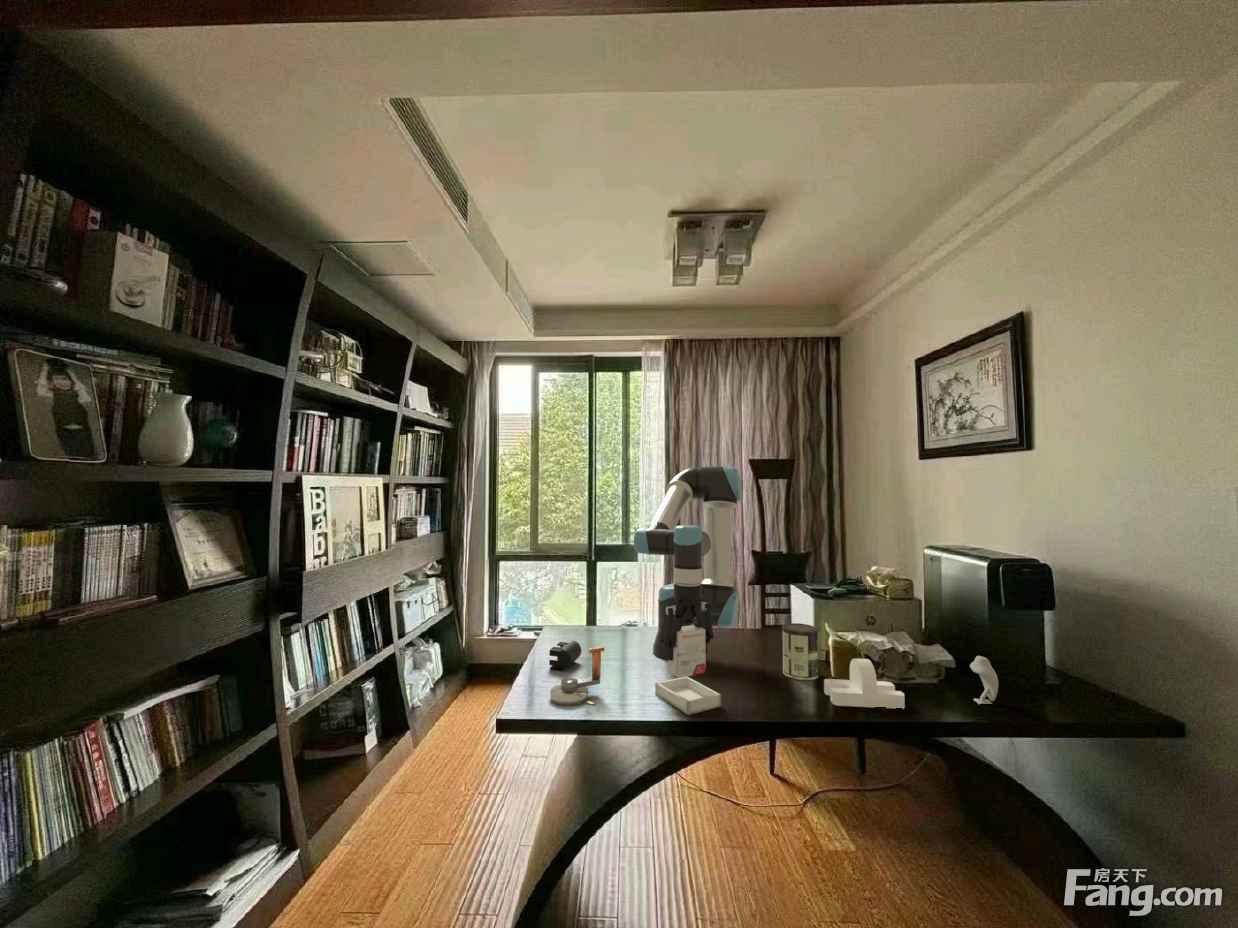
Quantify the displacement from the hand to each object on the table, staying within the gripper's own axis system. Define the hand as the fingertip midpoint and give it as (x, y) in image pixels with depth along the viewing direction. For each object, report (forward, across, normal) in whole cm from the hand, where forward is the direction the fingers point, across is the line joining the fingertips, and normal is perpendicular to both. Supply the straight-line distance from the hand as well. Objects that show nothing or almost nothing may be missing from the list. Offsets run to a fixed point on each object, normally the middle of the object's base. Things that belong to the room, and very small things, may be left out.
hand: (687, 669), depth 136 cm
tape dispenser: (+8, -42, +22) cm, 48 cm away
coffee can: (+8, -42, +1) cm, 43 cm away
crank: (+6, +23, -16) cm, 29 cm away
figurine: (+8, -69, +39) cm, 80 cm away
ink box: (+1, 0, 0) cm, 1 cm away
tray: (+8, 0, 0) cm, 8 cm away
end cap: (+8, +18, -39) cm, 44 cm away
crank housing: (+8, +27, -15) cm, 32 cm away
